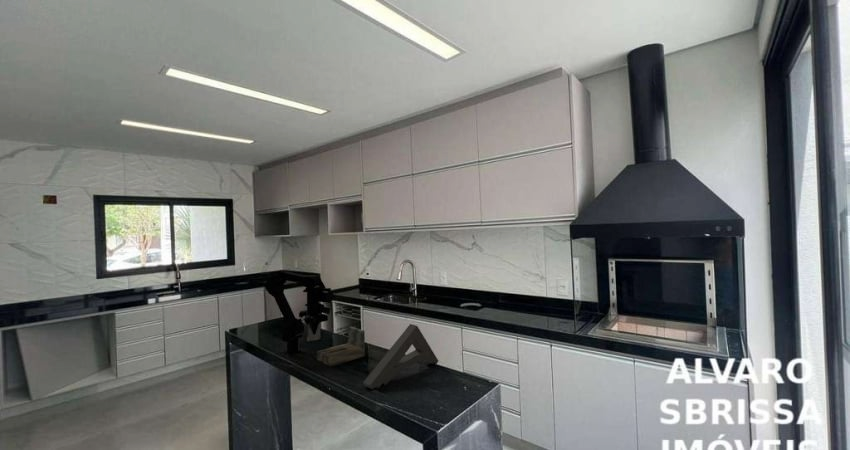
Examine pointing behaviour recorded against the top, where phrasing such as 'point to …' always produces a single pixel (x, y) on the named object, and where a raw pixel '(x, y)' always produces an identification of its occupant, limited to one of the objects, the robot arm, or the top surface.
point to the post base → (345, 349)
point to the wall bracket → (401, 357)
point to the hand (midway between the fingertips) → (313, 333)
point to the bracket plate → (310, 334)
